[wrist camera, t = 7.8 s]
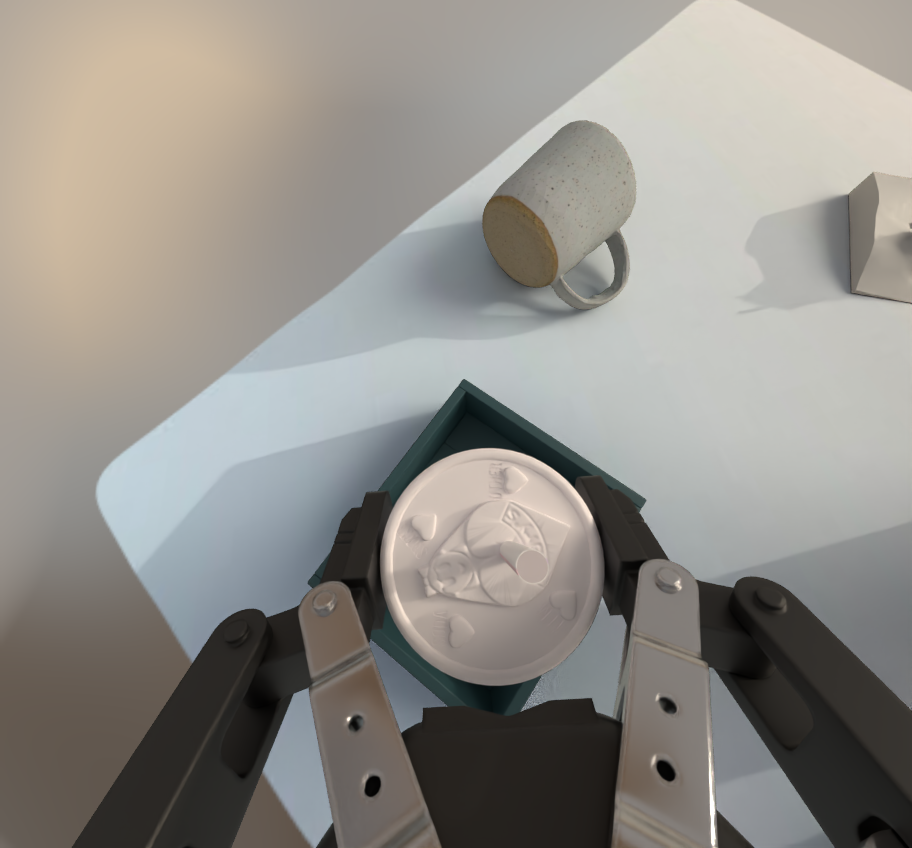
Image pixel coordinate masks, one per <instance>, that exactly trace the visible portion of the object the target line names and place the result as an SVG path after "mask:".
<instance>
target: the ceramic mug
mask: <svg viewBox="0 0 912 848" xmlns="http://www.w3.org/2000/svg"><path fill="white" fill-rule="evenodd" d="M635 200H636V180H635V173H634V170H633V166H632V163H631V160H630V158H629V156H628V154H627V152H626V150H625V148H624V147H623V145H622V144H621V142H620V141H619V140H618V139H617V137H616V136H615V135H614V134H612V133H610V131H609V130H608V129H607V128H605V127H604V126H602V125H599V124H597V123H595V122H590V121H587V120H586V121H575V122H571V123H569V124H567V125H565V126H564V127H562V128H561V129H560V130H559V131H558V132H557V133H556V134H555V135H554V136H553V137H552V138H551V139H550V140H549V141H548V142H546V143H545V144H544V145H543V146H542V147H541V148H540V149H539V150H538V151H537V152H536V153H535V154H534V155H532V156H531V157H530V158H529V159H528V160H527V161H526V162H525V163H524V164H523V165H522V166H521V167H520V168H519V169H518V170H517V171H516V172H515V173H514V174H513V175H512V176H510V177H509V178H508V179H507V180H506V181H505V182H504V183H503V184H502V185H501V186H500V187H499V188H498V189H497V191H496V192H495V193H494V195H493V196H492V198H491V199H490V200H489V202H488V203H487V205H486V207H485V209H484V213H483V221H482V225H483V233H484V238H485V240H486V243H487V246H488V248H489V250H490V252H491V254H492V256H493V257H494V259H495V260H496V262H497V263H498V264H499V266H500V267H501V268H502V269H503V270H504V271H505V272H506V273H507V274H508V275H509V276H510V277H511V278H513V279H514V280H516V281H517V282H519V283H521V284H523V285H526V286H529V287H535V288H536V287H544V286H547V285H551V286H552V288H553V289H554V291H555V292H556V294H557V295H558V296H559V298H561V299H562V300H563V301H565V302H566V303H567V304H569V305H570V306H572V307H574V308H577V309H592V308H596V307H598V306H600V305H603V304H605V303H607V302H609V301H610V300H612V299H613V298H615V297H616V296H617V295H618V294H619V293H620V292H621V291H622V289H623V288H624V287H625V285H626V283H627V280H628V276H629V269H630V262H629V254H628V249H627V246H626V243H625V240H624V238H623V236H622V234H621V232H620V227H622V225H623V224H624V223H625V222H626V220H627V219H628V218H629V217H630V215H631V212H632V210H633V207H634V204H635ZM604 241H605V242H606V243H607V245H608V248H609V250H610V252H611V255H612V258H613V261H614V267H615V275H614V280H613V282H612V284H611V286H610V287H609V288H607V289H606V290H605V291H603V292H602V293H601V294H599V295H594V296H592V297H590V298H589V299H584V298H582V297H581V296H579V295H577V294H576V293H575V292H574V291H573V290H572V289H571V288H570V287H569V286H568V284H567V283H566V282H565V281H564V279H563V275H565V274H566V273H567V272H568V271H569V270H571V269H572V268H573V267H574V266H576V265H577V264H578V263H579V262H580V261H581V260H582V259H583V258H584V257H585V256H587V255H588V254H589V253H591V252H592V251H593V250H595V249H596V248H597V247H598V246H600V245H601V244H602V243H603V242H604Z"/></svg>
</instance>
